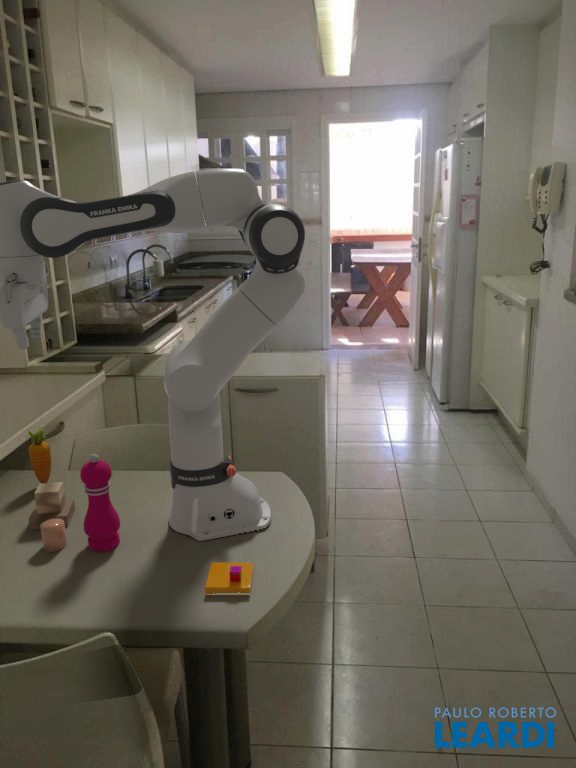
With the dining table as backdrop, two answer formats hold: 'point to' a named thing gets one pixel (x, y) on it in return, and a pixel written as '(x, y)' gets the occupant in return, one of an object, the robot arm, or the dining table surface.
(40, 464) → the carrot
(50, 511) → the cube
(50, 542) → the tan capsule
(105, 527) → the pepper mill
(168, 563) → the dining table surface
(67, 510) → the slab
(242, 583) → the orange square tile
